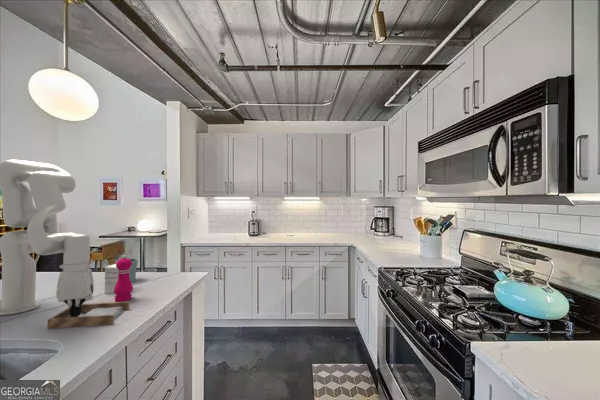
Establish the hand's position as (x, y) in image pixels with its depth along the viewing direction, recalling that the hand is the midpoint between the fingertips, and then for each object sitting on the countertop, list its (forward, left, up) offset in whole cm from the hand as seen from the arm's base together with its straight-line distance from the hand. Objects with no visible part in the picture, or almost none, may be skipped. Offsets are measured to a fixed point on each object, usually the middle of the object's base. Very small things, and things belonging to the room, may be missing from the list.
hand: (75, 316), depth 99 cm
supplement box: (0, +32, -1) cm, 32 cm away
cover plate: (+9, 0, -2) cm, 9 cm away
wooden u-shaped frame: (+5, 0, -1) cm, 5 cm away
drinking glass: (-2, +48, -1) cm, 48 cm away
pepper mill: (+8, +19, -1) cm, 21 cm away
